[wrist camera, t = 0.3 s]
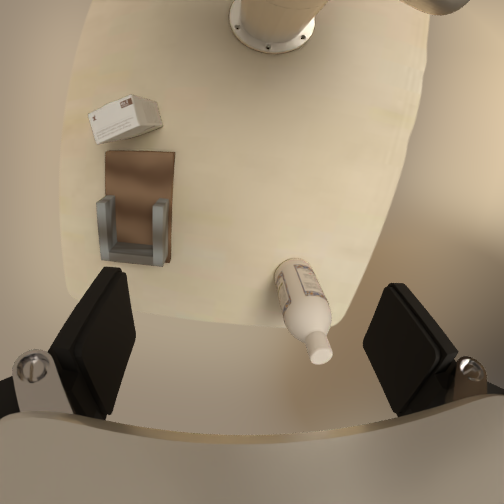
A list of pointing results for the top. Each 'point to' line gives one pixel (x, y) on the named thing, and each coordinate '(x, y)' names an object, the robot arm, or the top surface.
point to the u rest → (137, 207)
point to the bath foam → (304, 307)
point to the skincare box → (124, 119)
